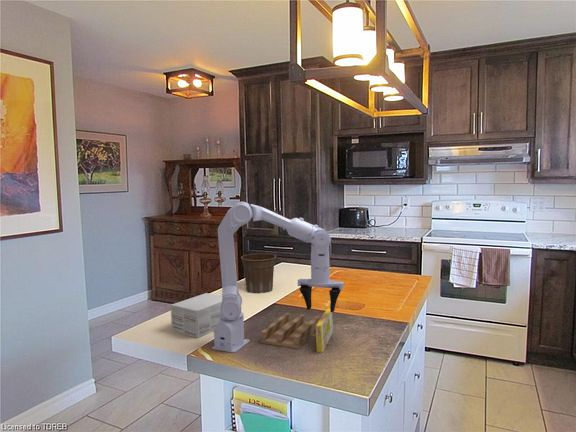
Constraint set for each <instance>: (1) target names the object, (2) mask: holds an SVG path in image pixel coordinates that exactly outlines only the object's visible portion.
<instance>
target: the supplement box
mask: <svg viewBox="0 0 576 432" xmlns="http://www.w3.org/2000/svg"><path fill="white" fill-rule="evenodd" d="M221 304H222V295H219V294H213V293H208V292H205V293H201V294H200V295H196V296H193V297H190V298H188V299H184V300H182V301H178V302H175V303H172V304H170V316H171V319H170V320H171V331H172V332H175V333H179V334H182V335H185V336H190V337H194V338H197V339H198V338H199V339H200V338H201V337H203V336H205V335H208V334H209V333H212V332H214V328H215V326H216V324H217V323H218V322H219V320H220V314H221V312H220V306H221Z"/></svg>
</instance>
